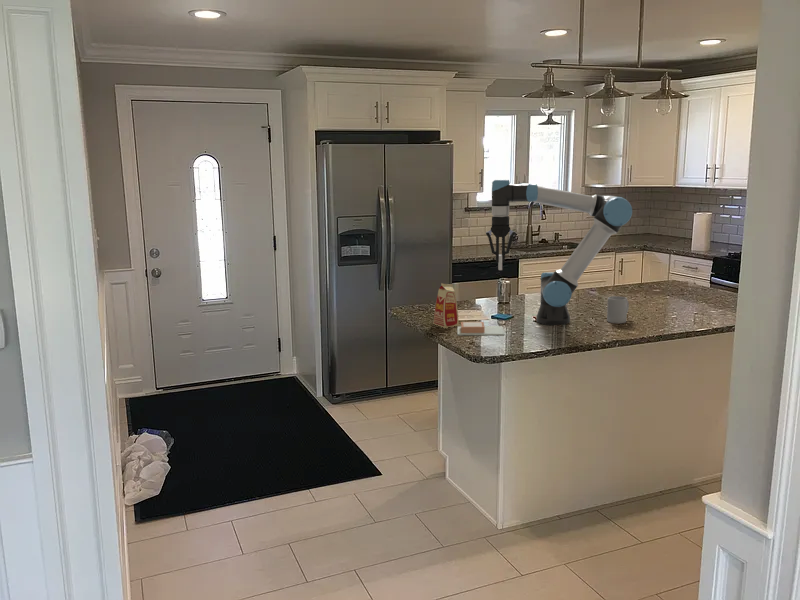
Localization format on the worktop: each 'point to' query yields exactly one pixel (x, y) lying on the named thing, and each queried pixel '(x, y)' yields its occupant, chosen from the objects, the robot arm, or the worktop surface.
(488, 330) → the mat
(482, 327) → the tile
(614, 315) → the mug
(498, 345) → the worktop surface
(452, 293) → the milk carton
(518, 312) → the worktop surface
